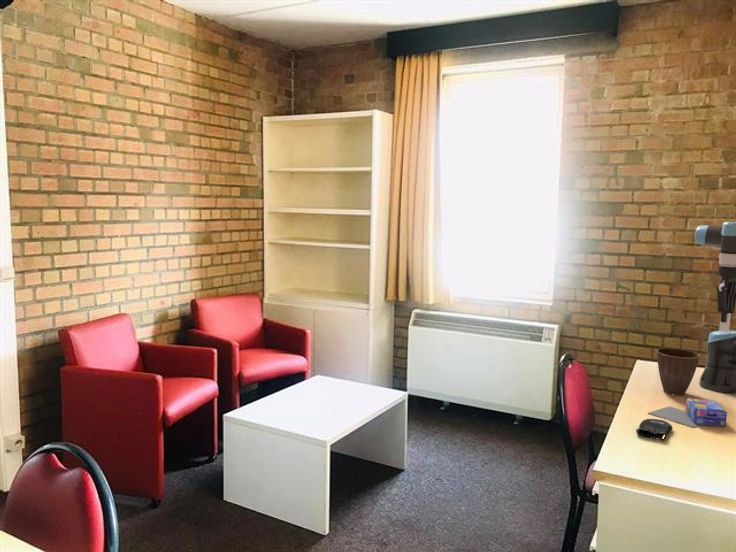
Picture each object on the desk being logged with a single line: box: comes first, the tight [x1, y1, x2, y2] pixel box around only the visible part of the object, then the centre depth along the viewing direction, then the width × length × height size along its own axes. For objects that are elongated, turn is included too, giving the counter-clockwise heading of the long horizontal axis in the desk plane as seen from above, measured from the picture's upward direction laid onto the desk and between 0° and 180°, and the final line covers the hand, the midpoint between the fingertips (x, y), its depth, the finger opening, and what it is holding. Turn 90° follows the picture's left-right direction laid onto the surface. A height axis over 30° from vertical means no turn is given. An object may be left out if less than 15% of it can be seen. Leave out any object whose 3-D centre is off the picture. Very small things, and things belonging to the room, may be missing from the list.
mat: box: [647, 405, 702, 429], centre depth 221 cm, size 14×16×1 cm
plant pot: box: [656, 347, 700, 396], centre depth 248 cm, size 15×15×16 cm
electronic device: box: [635, 418, 673, 441], centre depth 205 cm, size 9×6×15 cm
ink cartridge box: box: [684, 398, 728, 428], centre depth 216 cm, size 10×6×14 cm
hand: (724, 330), depth 229 cm, fingers closed
